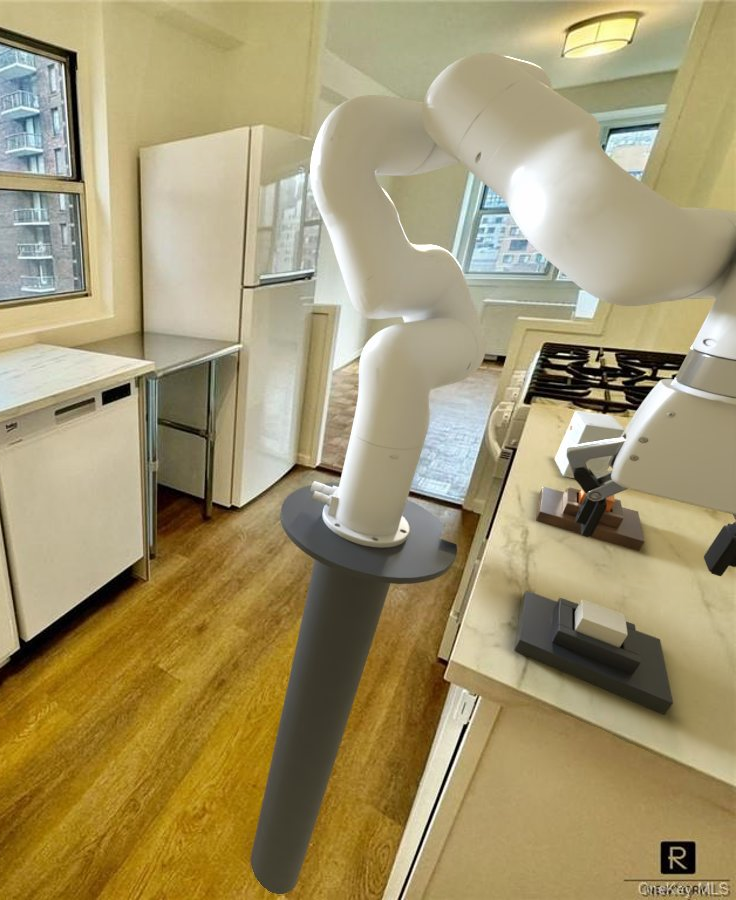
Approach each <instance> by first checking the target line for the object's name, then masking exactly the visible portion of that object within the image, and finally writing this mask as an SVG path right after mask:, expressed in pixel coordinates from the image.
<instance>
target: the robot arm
mask: <svg viewBox="0 0 736 900" xmlns="http://www.w3.org/2000/svg"><path fill="white" fill-rule="evenodd" d="M600 133H601V123H600V122H599V120H598V119H597V118H596V117H595V116H594V115H592V113H590V112H588V111H586V110H585V109H583V108H582V107H580V106H579V105H577V104H576V103H574V102H572V101H571V100H570V99H567V98H566V97H564V96H562V94H560V93H558V92H556V91H555V90H554V89H553V84H552V82H551V79H550V76H549V75H548V74H547V71H545V70H544V69H543V68H541V66H539V65H537V64H535V63H532V62H529V61H525V60H521V59H518V58H514V57H511V56H508V55H507V56H506V55H503V54H499V53H495V52H494V53H493V52H479V53H477V52H476V53H472V54H469V55H465V56H463V57H461V58H459V59H457V60H455V61H454V62H452V63H451V64H449V65H448V66H447V67H445V68H444V69H443V70H442V71H441V72H440V73H439V74H438V75H437V76H436V77H435V79H434V80H433V81H432V83H431V84H430V86H429V88H428V89H427V91H426V93H425V95H424V98H423V101H419V100H415V99H414V100H413V99H407V98H402V97H396V96H390V95H382V94H367V95H359V96H356V97H353V98H349V99H347V100H345V101H344V102H342V103H340V104H338V105H337V106H336V107H335V108H334V109H333V110H331V112H330V113H329V114H328V115H327V117H326V118H325V119H324V121H323V123H322V125H320V128H319V130H318V132H317V135H316V138H315V141H314V143H313V147H312V152H311V156H310V157H311V158H310V164H309V165H310V166H309V176H310V178H309V179H310V186H311V191H312V196H313V199H314V202H315V204H316V207H317V209H318V212H319V215H320V217H321V219H322V220H323V223H324V225H325V228H326V230H327V232H328V235H329V238H330V241H331V244H332V248H333V252H334V255H335V258H336V260H337V261H336V262H337V265H338V267H339V270H340V273H341V276H342V279H343V282H344V286H345V288H346V291H347V295H348V298H349V301H350V303H351V305H352V307H353V309H354V311H355V312H356V313H357V314H358V315H359V316H361V317H362V318H366V319H370V320H383V319H384V320H385V319H393V318H400V317H402V320H403V322H400V323H395V324H392V325H390V326H386V327H385V328H382V329H381V330H379V331H377V332H376V333H375V334H374V335H373V336H372V337H371V338H370V339H368V341H367V342H366V344H365V345H364V346H363V349H362V351H361V352H360V357H359V361H358V362H359V363H358V388H357V389H358V392H357V399H356V400H357V401H356V405H355V412H354V417H353V421H352V426H351V432H350V436H349V441H348V446H347V448H346V453H345V458H344V462H343V467H342V471H341V476H340V480H339V483H340V484H339V487H336V486H333V487H330V486H327V485H325V484H322V483H323V482H319V481H315V480H314V481H313V482H312V484H311V485H312V486H311V492H313V493H314V494H313V499H315V500H318V501H322V502H325V503H326V505H325V506H324V509H323V514H322V516H323V520H324V522H325V524H326V525H327V526H328V528H330V529H331V530H332V531H333V532H334V533H336V534H337V535H339V536H340V537H342V538H344V539H346V540H348V541H351V542H354V543H357V544H360V545H364V546H369V547H378V548H386V547H393V546H397V545H400V544H402V543H403V542H405V541H406V539H407V538H408V535H409V532H410V527H409V524H408V522H407V521H406V520H405V518H404V517H403V516H402V514H403V511H404V508H405V504H406V501H407V500H408V497H409V494H410V490H411V487H412V484H413V481H414V478H415V474H416V471H417V467H418V465H419V461H420V458H421V455H422V451H423V448H424V445H425V441H426V438H427V434H428V431H429V426H430V417H431V416H430V415H431V413H430V393H431V391H432V390H435V389H438V388H442V387H446V386H450V385H453V384H454V385H455V384H456V383H459V382H462V381H465V380H466V379H469V378H470V377H471V376H472V375H474V374H475V373H476V372H477V371H478V369H479V368H480V367H481V365H482V363H483V361H484V359H485V356H486V349H487V347H486V344H487V343H486V342H487V341H486V337H485V332H484V329H483V325H482V323H481V320H480V317H479V314H478V311H477V308H476V305H475V303H474V299H473V297H472V293H471V291H470V288H469V285H468V282H467V279H466V276H465V273H464V271H463V269H462V267H461V265H460V263H459V261H458V260H457V259H456V258H455V257H454V256H453V254H452V253H451V252H449V251H448V250H447V249H445V248H443V247H441V246H438V245H434V244H427V243H423V244H421V243H420V244H417V243H416V244H413V243H412V242H410V241H409V239H408V237H407V235H406V233H405V231H404V228H403V226H402V223H401V220H400V215H399V213H398V210H397V208H396V205H395V203H394V201H393V199H392V198H391V197H390V196H389V194H388V193H387V191H386V190H385V189H384V188H383V186H382V185H381V184H380V183H379V180H378V179H377V177H376V176H393V177H409V176H416V175H422V174H425V173H429V172H433V171H437V170H441V169H445V168H448V167H452V166H456V165H461V166H463V167H464V168H465V169H466V170H467V171H468V172H470V173H471V174H472V175H473V176H475V177H476V178H477V179H478V180H479V181H481V183H483V184H484V185H485V186H487V187H488V188H489V189H490V190H491V191H492V192H493V193H495V194H496V195H497V196H498V197H499V198H501V199H502V201H504V202H505V203H506V204H507V208H508V211H509V214H510V216H511V218H512V219H513V220H514V221H515V224H516V226H517V227H518V229H519V230H520V232H521V233H522V235H523V237H524V238H525V239H526V240H527V241H528V243H529V244H530V245H531V246H532V247H533V248H534V249H535V250H536V251H537V252H538V253H539V254H540V255H541V256H542V257H543V258H544V259H546V260H547V261H548V262H549V263H550V264H552V265H553V266H554V267H555V268H556V269H557V270H558V271H560V272H561V273H562V274H563V275H564V276H565V277H567V278H568V279H569V280H570V281H571V282H573V283H574V284H575V285H576V286H578V288H580V289H582V291H584V292H586V293H587V294H589V295H591V296H592V297H594V298H595V299H598V300H601V301H603V302H606V303H608V304H612V305H616V306H623V307H642V306H649V305H655V304H660V303H664V302H665V303H666V302H676V301H684V300H714V301H713V304H712V306H711V307H710V310H709V312H708V314H707V316H706V318H705V320H704V321H703V324H702V325H701V327H700V329H699V331H698V333H697V335H696V337H695V338H694V341H693V343H692V344H691V346H690V349H689V350H688V352H687V354H686V356H685V358H684V360H683V362H682V364H681V365H680V368H679V369H678V372H677V373H676V375H675V377H674V379H673V378H664V379H660V380H659V381H658V382H657V384H656V385H654V387H653V388H652V389H651V390H650V391H649V393H648V394H647V396H646V397H645V398H644V399H643V400H642V402H641V404H640V405H639V407H638V408H637V409H636V411H635V412H634V414H633V416H631V417H632V418H631V419H630V420H629V422H628V423H627V425H626V426H625V428H624V429H625V430H624V432H623V434H622V435H621V437H620V438H616V439H611V440H605V441H599V442H594V443H588V444H582V445H576V446H571V447H569V448H567V458H568V461H569V464H570V467H571V469H572V472H573V475H574V478H573V479H574V480H575V481H576V482H577V484H578V485H579V486H580V488H582V489H583V490H584V492H585V493H586V494H587V495H586V497H585V499H584V501H583V503H582V505H581V507H580V509H579V511H578V513H577V515H576V519H575V522H577V523H580V524H581V533H580V536H582V537H584V538H585V537H586V538H589V537H590V538H592V537H591V536H592V534H593V532H594V531H595V529H596V527H597V525H598V523H599V521H600V519H601V517H602V515H603V513H604V511H605V509H606V507H607V503H606V498H607V497H610V496H612V495H614V496H615V495H616V494H619V493H622V492H624V491H626V490H630V491H634V492H638V493H642V494H646V495H649V496H650V495H651V496H654V497H659V498H663V499H666V500H670V501H674V502H679V503H683V504H687V505H691V506H696V507H700V508H703V509H708V510H713V511H715V512H719V513H720V512H721V513H724V514H730V515H732V516H733V518H734V520H735V521H734V522H733V523H730V522H727V524H726V525H725V524H724V525H723V526H722V528H721V529H720V531H719V532H718V534H717V535H716V537H715V538H714V540H713V541H712V542H711V544H710V546H709V547H708V549H707V550H706V552H705V554H704V556H703V561H704V562H705V566H706V567H707V570H708V572H710V574H711V575H714V576H718V577H722V576H723V575H724V574H725V572H726V571H727V569H728V567H732V568H736V210H728V209H720V208H709V207H708V208H707V207H698V206H697V207H696V206H691V207H689V206H679V205H676V204H675V203H673V202H672V201H671V200H668V199H667V198H666V197H665V196H662V195H661V194H660V193H658V192H656V191H655V190H653V188H651V187H649V186H648V185H647V184H645V183H644V182H642V181H641V180H639V179H637V177H635V176H633V175H632V174H631V173H629V171H627V170H626V169H624V168H623V167H621V166H620V165H619V164H618V163H616V162H615V161H614V160H613V159H612V158H611V156H609V155H608V154H607V152H606V151H605V150H604V149H603V147H602V146H601V142H600V139H599V137H600ZM606 456H610V458H609V462H608V466H609V468H611V470H610V471H607V472H606V473H605V474H603V475H601V476H598V477H596V476H595V475H594V474H593V472H592V471H591V470H590V468H589V467H588V464H587V461H588V460H589V459H593V458H600V457H606Z"/></svg>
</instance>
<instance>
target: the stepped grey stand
mask: <svg viewBox="0 0 736 900" xmlns="http://www.w3.org/2000/svg"><path fill="white" fill-rule="evenodd" d="M578 605H579V603H578V602H574V601H571V600H568V599H566V598H563V597H558V599H557V601H556V600H554V599H551V598H549V597H546V596H543V595H541V594H537V593H535V592H532V591H529V590H525V591H524V593H523V595H522V596H521V599H520V606H519V612H518V619H517V628H516V635H515V643H514V652H517V653H519V654H521V655H524V656H525V657H529V658H531V659H533V660H536V661H538V662H540V663H543V664H545V665H547V666H550V667H551V668H555V669H557V670H558V671H561V672H564V673H566V674H568V675H570V676H572V677H575V678H577V679H579V680H582V681H585V682H587V683H589V684H591V685H594V686H596V687H598V688H601V689H603V690H605V691H607V692H610V693H613V694H615V695H617V696H620V697H622V698H624V699H627V700H629V701H631V702H634V703H636V704H638V705H641V706H643V707H645V708H647V709H649V710H652V711H655V712H657V713H659V714H662V715H666V714H667V712H668V711H669V710H670V708H671V707H672V705H673V704H674V702H673V701H674V700H673V696H672V692H671V687H670V682H669V675H668V672H667V667H666V666H667V665H666V662H665V657H664V652H663V647H662V643H661V642H662V641H661V639H660V638H658V637H656V636H652V635H650V634H647V633H644V632H641V631H639V630H637V629H636V624H635V623H632V622H629V621H627V620H626V626H627V634H628V635H627V637H626V638H625V640H624V641H623V643H622V645H621V646H620V648H619V647H616V646H613V645H611V644H608V643H606V642H603V641H601V640H598V639H595V638H593V637H590V636H588V635H585V634H582V633H580V632H577V631H575V630H574V612H575V611H576V609H577V607H578Z"/></svg>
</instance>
